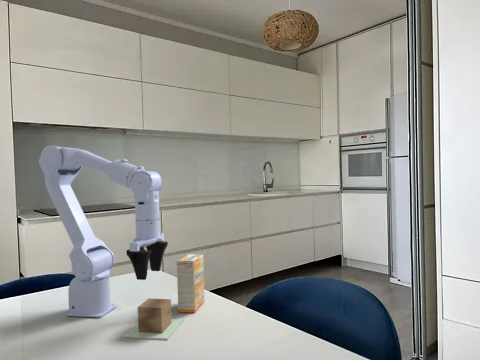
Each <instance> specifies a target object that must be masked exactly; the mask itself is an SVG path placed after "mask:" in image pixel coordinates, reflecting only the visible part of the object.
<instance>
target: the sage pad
mask: <svg viewBox="0 0 480 360" xmlns="http://www.w3.org/2000/svg"><path fill="white" fill-rule="evenodd" d="M171 319H172V323H171V324H170V325H169V326H168V328H167V329H166V330H165V331H164V332H163V333H146V332H138V323H136V325H134V326H133V327H132V328H131V329H130V330H129V331H127V332H126V333H125V334H123V338H129V339H131V338H132V339H148V340H163V341H168V340H169V339H170V338H171V336H173V335H174V333H175V332H176V331H177V329H179V327H180V326H181V325H182V324H183V323H184V321H185V320H184V319H182V318H180V319H179V318H171Z"/></svg>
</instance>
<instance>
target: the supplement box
mask: <svg viewBox="0 0 480 360" xmlns="http://www.w3.org/2000/svg"><path fill="white" fill-rule="evenodd" d="M204 262H205V261H204V254H197V253H194V254H193V253H192V254H190V253H189V254H186V255H185V256H183V257H181V258H179V259H177V261H176V277H177V278H176V279H177V280H176V282H177V311H178V312H179V313H190V314H193V313H196V311H197V310H198V309H199V308H200V307H201V305H202V304H204V303H205V276H204V275H205V271H204V268H205V265H204V264H205V263H204Z"/></svg>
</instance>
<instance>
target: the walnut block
mask: <svg viewBox="0 0 480 360" xmlns="http://www.w3.org/2000/svg"><path fill="white" fill-rule="evenodd" d="M172 319H173V318H172V299H171V298H170V299H169V298H148V299H146V300H145V301H143V302H142V303H140V305H138V306H137V324H138V332H146V333H163V332H164V331H165V330H166V329H167V328H168V326H169V325H170V324H171V323H172Z"/></svg>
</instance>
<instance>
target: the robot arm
mask: <svg viewBox="0 0 480 360" xmlns="http://www.w3.org/2000/svg"><path fill="white" fill-rule="evenodd" d="M38 164H39V166H40V167H39V168H40V169H41V171H42V173H43V175H44V182H45V183H44V184H45V187H46V190H47V192H48V194H49V197H50V198H51V201H52V203H53V205H54V207H55V210H56V211H57V214H58V215H59V218H60V220H61V222H62V224H63V226H64V228H65V230H66V233H67V235H68V237H69V240H70V241H71V244H72V246H73V247H72V249H71V251H70V252H69V255H68V257H69V260H70V262H71V271H72V273H73V276H75V277H74V278H72V280H70V283H69V285H68V292H67V293H68V295H67V296H68V313H67V314H66V316H67V317H82V318H83V317H84V318H86V317H87V318H102V317H103V316H105V315H106V314H108V313H110V312H111V311H113V310H114V309H115V308H117V307H118V305H117V304H116V303H115V304H114V303H113V304H112V303H111V290H110V289H111V288H110V287H111V286H110V285H111V284H110V283H111V282H110V274H111V269H113V267H114V266H115V261H116V260H115V254H114V253H113V251H112V250H111V249H110V248H109V247H108V246H107V245H106V243H105V242H104V241H103V240H101V239H100V238H98V237H97V236H95V234H94V231H93V229H92V227H91V226H90V223H89V221H88V219H87V217H86V215H85V213H84V210H83V208H82V206H81V204H80V201H78V199H77V196H76V195H75V191H74V190H73V188H72V186H71V185H72V183H73V181H74V180H75V179H76V178H77V176H78V174H79V173H80V171H82V169H83V168H84V167H86V168H90V169H91V170H92V169H93V170H95V171H98V172H101V173H104V174H107V178H108V180H109V181H111V182H113V183H115V184H118V185H121V186H123V187H126V188H128V189H130V190H131V192H132V193H133V199H134V208H135V209H134V210H135V211H134V212H135V214H134V215H135V238H134V239H133V240H132V241H131V242H129V249H127V250H126V256H127V257H128V258H129V260H130V262H131V264H132V268H133V271H134V274H135V277H136V280H138V281H140V280H141V281H145V280H147V276H148V267H149V266H150V270H151V272H160V271H161V268H162V262H163V259H164V258H163V257H164V254H165V251H166V249H167V247H168V241H165V233H164V232H161V231H160V228H161V227H160V223H161V222H160V191H161V189H162V187H163V184H164V181H163V177H162V176H161V174H160V173H158V172H157V171H156V170H151V169H150V170H145V167H144V166H143V165H138V166H136V165H134V164H132V163H129V160H128V159H126V158H121V159H115V160H113V161H111V160H108V159H106V158H104V157H102V156H100V155H97V154H95V153H93V152H90V151H88V150H87V149H81V148H79V147H67V146H66V147H65V146H57V145H52V144H51V145H47V146H46V147H45V146H44V148H43V149H42V151H41V154H40V156H39V160H38ZM145 248H146V249H145Z"/></svg>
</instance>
